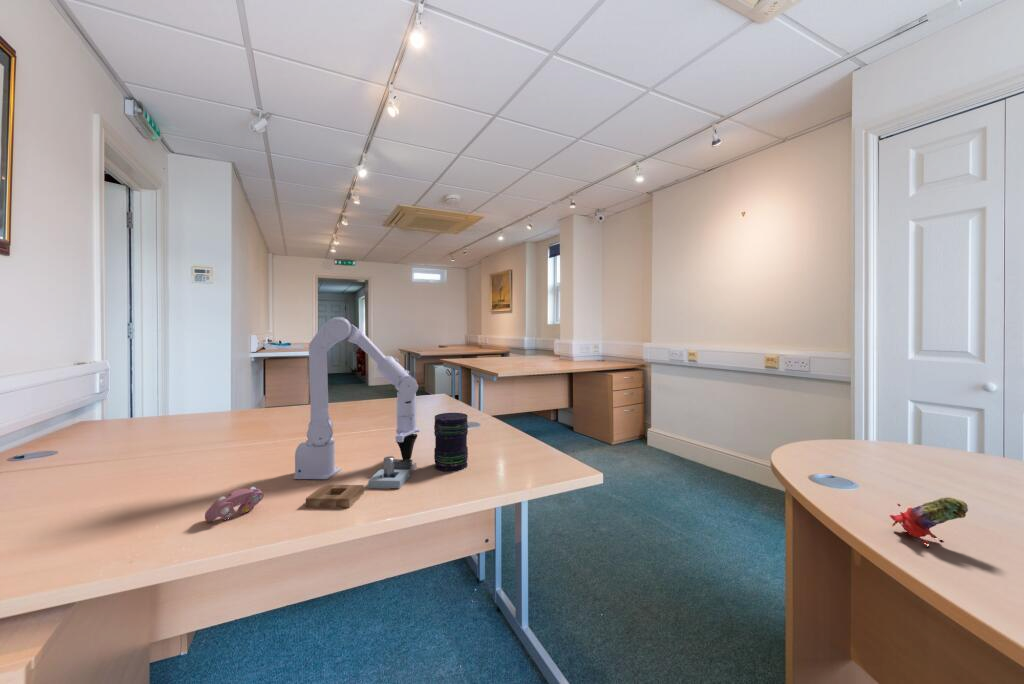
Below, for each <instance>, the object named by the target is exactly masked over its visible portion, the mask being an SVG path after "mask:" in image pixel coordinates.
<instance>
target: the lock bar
mask: <svg viewBox="0 0 1024 684" xmlns="http://www.w3.org/2000/svg"><path fill="white" fill-rule="evenodd" d="M412 465H413V459H410V460H403V459H398V458H397V459H396V458H394V470H409V469H410V468H411V466H412Z"/></svg>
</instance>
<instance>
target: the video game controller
mask: <svg viewBox="0 0 1024 684" xmlns="http://www.w3.org/2000/svg"><path fill="white" fill-rule="evenodd" d="M263 498H264V492H263V491H262V490H260V489H259V488H256V487H255V486H251V487H250V488H240V489H236V490H233V491H231V492H230V493H228V494H227V495H225V496H223V495H222V496H220V497H219V498H217V499H216V500H215V501H214V502H213V503H212V504H211V506H210V507H209V508H208V509H207V510H206V511H205V513H204V520H205V521H206V522H207V521H208V522H207V523H211V521H212V522H213V521H215V520H216V519H218V518H222V519H223V520H224V521H226V520H225V519H228V518H231V517H232V518H233V517H234V516H235V515H236V510H235V507H238V508H237V510H238V512H239V513H240V514H241V515H244V514H243V513H245V514H247V513H249V512H250V511H251V509H252V508H253V507H255V506H257V505H258V504H259V503H260V502H261V501H262V500H263ZM248 511H249V512H248ZM246 512H247V513H246ZM232 518H231V519H232ZM228 520H229V519H228Z"/></svg>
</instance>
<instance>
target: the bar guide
mask: <svg viewBox="0 0 1024 684" xmlns="http://www.w3.org/2000/svg"><path fill="white" fill-rule="evenodd" d="M416 468H417V462H413V463H412V466H411V468H410V469H409V475H410V476H411V474H413V472H414V471H415V470H416ZM413 470H414V471H413Z"/></svg>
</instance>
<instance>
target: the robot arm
mask: <svg viewBox="0 0 1024 684" xmlns="http://www.w3.org/2000/svg"><path fill="white" fill-rule="evenodd" d="M345 339H346V341H347V342H348V343H352V344H355V345H356V346H358V347H359V348H360V349H362V350H363V352H365V353H366V354H367V355H368V356H369V357H370V358H371V359H372V360H373V361H374V362H375V363H376V370H377V372H379V373H380V374H381V376H383V377H384V379H386V380H387V381H388V382H389V383H390V384H391V385H393V386H394V388H395V390H396V391H397V392H396V397H397V398H396V430H395V433H396V435H395V443H397V445H398V447H399V450H400V454H401V458H402V459H401V460H412V459H411V458H412V456H413V454H412V453H413V450H414V445H415V443H416V440H417V438H418V434H417V433H420V432H421V428H418V427H417V398H416V397H417V392H418V390H419V384H418V382H417V379H416V378H414V376H412V375H411V374H410V370H408V369H407V370H406V369H405V368H404V367H403V366H402V365H401V364H400V363H399V362H400V360H399V359H398V358H397V357H393V356H391V355H390V356H389V355H385V354H384V353H383V352H382V351H381V350H380V349H379V348H378V347H377V345H376V344H374V343H373V341H372V340H371V339H370V338H369V337H368V336H367V335H366V334H365V333H364V332H363V331H362V330H361V329H359V328H358V327H356V326H355V325H354V324H351V322H350V321H349V319H346V318H345V317H343V316H335V317H332V318H330V319H329V320H328V321H326V322H324V323H323V324H322V325H321V327H320V328H319V330H317V332H316V334H315V335H314V336H313V338H312V339H311V340H310V342H309V343H308V368H309V399H310V403H309V404H310V414H309V415H310V417H309V418H310V421H309V423H308V427H307V428H308V429H307V431H306V438H307V440H306V441H305V442H300V443H299V444H298V445H297V447H296V449H295V452H294V468H295V469H294V476H293V479H294V480H329V479H330V478H331V477H333V476H334V475H335V474H337V473H338V472H339V471H341V470H342V468H341V467H336V461H335V460H336V457H335V454H336V450H335V447H336V446H335V444H336V443H335V442H336V441H335V438H334V437H333V435H334V430H333V422H332V419H331V418H330V412H329V391H328V390H329V389H328V388H329V384H328V383H329V382H328V381H329V379H328V351H329V350H331V348H332V347H333V346H335V345H336V344H337V343H339V342H341V341H343V340H345Z"/></svg>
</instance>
